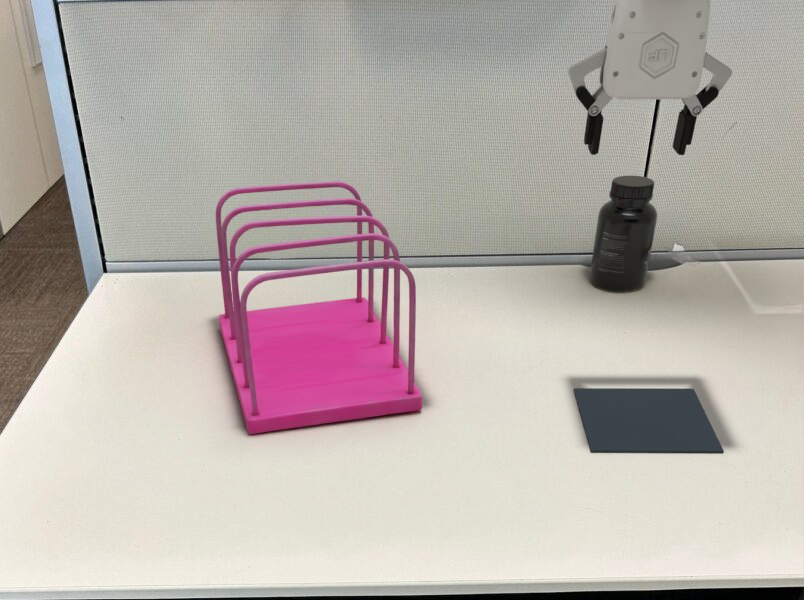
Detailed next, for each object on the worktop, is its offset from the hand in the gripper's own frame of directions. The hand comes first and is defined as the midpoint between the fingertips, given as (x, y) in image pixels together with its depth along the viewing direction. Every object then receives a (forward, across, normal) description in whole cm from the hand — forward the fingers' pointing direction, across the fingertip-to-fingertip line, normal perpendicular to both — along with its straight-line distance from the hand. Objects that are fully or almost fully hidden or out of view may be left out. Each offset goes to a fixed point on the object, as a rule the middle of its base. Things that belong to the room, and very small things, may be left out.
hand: (635, 151), depth 105 cm
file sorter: (+16, -36, -23) cm, 45 cm away
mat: (+15, -2, -34) cm, 37 cm away
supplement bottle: (+15, 0, 0) cm, 15 cm away
